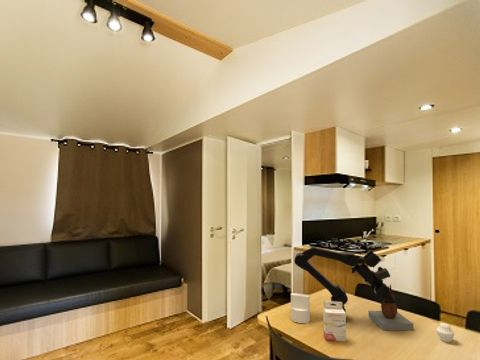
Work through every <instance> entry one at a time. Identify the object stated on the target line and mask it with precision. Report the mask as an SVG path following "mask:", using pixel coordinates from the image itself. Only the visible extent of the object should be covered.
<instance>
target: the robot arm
mask: <svg viewBox="0 0 480 360" xmlns="http://www.w3.org/2000/svg"><path fill="white" fill-rule="evenodd" d="M315 256H317V257H321V258H326V259H329V260H334V261H339V262H341V263H343V264H345V265H347V266H350V272H351V274H354V273H355V272H356V274H358V275H359V276H360V277H361V278H362V279H363V280H364V282H365V283H367V284H368V285H369V286H370V287H371V289H372V290H373V289H374V293H375V295H376V297H378V298H380V299H383V300H384V299H386V300H388V301H390V302H392V303H396V300H395V298H394V299H393V297H392V296H391V295H390V293H389V288H390V287H389V288H388V286H389V285H387V284H386V283H384V279H387V278H391V274H390V272H389V270H388V269H387V268H386V267H382V266H378V267H377V265H378V264H379V263H380V262H382V259H381V258H380V257H379V256H378V255H377V254H376V253H374V251H372V250H371V249H369V250H368V251H367V253H365V254H364V255H363V256H361V255H357V254H355V253H354V252H350V251H340V252H339V251H335V250H330V249H326V248H321V247H317V246H316V245H314V246H311V247H310V248H308V249H306V250H304V251H303V252H298V253H297V254H295V257H294V260H293V261H294V265H296V266H297V267H299V268H300V269H301V270H304V271H306V272H307V273H308V274H309V275H311V276H312V277H313V278H314V279H315V280H316V281H318V283H320V285H322V286H323V287H324V288H325V289H326V290H327V291H328V292H329V293H330V295H331V297H330V301H332V302H342V309H343V310H344V312H345V313H346V310H347V309H346V308H345V305H346V304H348V301H349V299H348V294H347V293H346V292H347V291H346V289H345V288H344V287H342V286H341V285H340V283H338V284H337V285H336V284H335V283H333V282H332V281H331V280H330V279H328V278H327V277H326V276H325V275H324V274H323V273H322V272H320V271H319V270H318V269H317V268H316V267H315V266H314V265H313V264H312V263H311V261H310V260H311V259H312V258H313V257H315ZM375 267H377V270H376V271H374V270H372V269H370V268H373V269H374V268H375ZM330 305H333V306H336V304H330ZM346 314H347V313H346Z"/></svg>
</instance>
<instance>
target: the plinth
mask: <svg viewBox="0 0 480 360" xmlns="http://www.w3.org/2000/svg"><path fill="white" fill-rule="evenodd" d="M367 315H368V318H369V319H370V320H371V321H372V322H373V323H374V324H375V325H376V326H377V327H379V328H380V329H381V331H414V322H412V321H410V320H409V319H408V318H406V316H404V315H402V314H401V313H400V312H398V311H397V314H396V316H395V318H387V317H385V316H384V315H383V313H382V310H368V314H367Z"/></svg>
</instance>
